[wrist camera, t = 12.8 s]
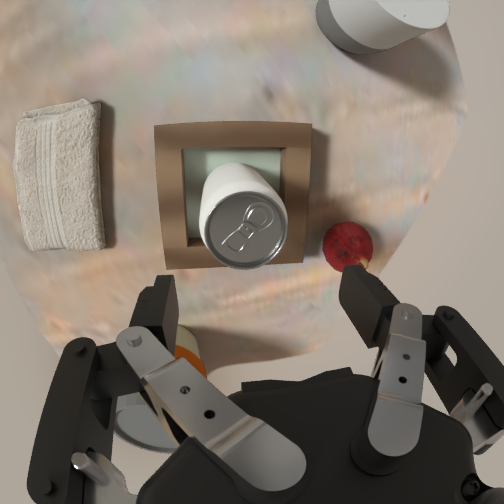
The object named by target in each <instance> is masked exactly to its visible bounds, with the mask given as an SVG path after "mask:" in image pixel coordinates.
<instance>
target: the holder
mask: <svg viewBox="0 0 504 504" xmlns="http://www.w3.org/2000/svg"><path fill="white" fill-rule="evenodd" d="M154 138H155V160H156V176H157V189H158V201H159V212H160V222H161V231H162V239H163V247H164V255H165V262H166V270H170V269H192V268H213V267H228V266H226V265H224V264H222V263H221V262H219V261H218V260H217V259H216V258H215V257H214V256H213V255H212V254H211V252H210V251H209V249H208V248H207V247H206V245H205V244H204V242H203V240H202V237H201V234H200V228H199V216H200V207H201V200H202V193H203V188H204V184H205V181H206V179H207V177H208V176H209V175H210V173H211V172H212V171H213V170H214V169H216V168H217V167H219V166H221V165H223V164H226V163H232V162H237V163H243V164H245V165H248V166H250V167H251V168H253V169H254V170H255V171H257V172H258V173H259V174H260V175H261V176H262V177H263V178H264V180H265V181H266V182H267V183H268V184H269V185H270V186H271V187H272V188H273V189H274V191H275V192H276V193H277V194H278V196H279V197H280V198H281V200H282V202H283V204H284V206H285V209H286V212H287V219H288V224H287V227H288V230H287V238H286V241H285V244H284V246H283V248H282V249H281V251H280V252H279V253H278V255H277V256H276V257H275V258H274V259H272V260H271V261H270V262H268V263H267V264H265V265H269V264H286V263H303V259H304V248H305V237H306V225H307V212H308V198H309V182H310V164H311V142H312V124H307V123H292V122H269V121H217V122H194V123H179V124H167V125H156V126H154Z"/></svg>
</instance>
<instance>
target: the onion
mask: <svg viewBox="0 0 504 504" xmlns="http://www.w3.org/2000/svg"><path fill="white" fill-rule="evenodd" d="M322 249H323V252H324V255H325V258H326V261H327V262H328V263H329V264H330V265H331V266H332V267H333V268H334V269H335V270H337V271H340V272H343V268H344V266H345V265H353V264H361V265H362V266H363V267H364V269H367V268H368V263H369V261H370V260H371V257H372V253H373V244H372V239H371V237H370V235H369V234H368V232H367V231H366V230H365V229H364V227H362V226H360V225H358V224H356V223H354V222H343V223H339V224H336V225H334V226H333V227H332V228H330V229H329V230H328V232H327V233H326V235H325V237H324V240H323V248H322Z"/></svg>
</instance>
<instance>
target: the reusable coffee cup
mask: <svg viewBox="0 0 504 504" xmlns="http://www.w3.org/2000/svg"><path fill="white" fill-rule="evenodd" d="M179 357H183V358H185V359H186V360H187V361H188V362H189V363H190V364H191V365H192V366H193V367H194V368H195V369H196V370H197V371H198V372H200V373H201V374H202V375H203V376H204V377H205V378H206V379H207V376H206V371H205V367H204V365H203V363H202V361H201V360H200V355H199V349H198V343H197V340H196V338H195V337H194V336H193V334H192V333H191V332H189V331H188V330H187V329H185V328H184V327H182V326H179V325H178V326H177V335H176V344H175V354H174V358H176V359H177V358H179ZM114 434H115V435H116V436H118V437H119V438H120V439H122V440H124V441H125V442H127V443H129V444H131V445H133V446H136V447H139V448H141V449H145V450H148V451H153V452H159V453H168V454H169V453H170V454H173V453H174V451H175V450H176V449H177V448H178V446H177V445H176V444H175V442H174V441H173V440H172V439H171V438H170V436H169V435H168V434H167V432H166V431H165V429H164V428H163V426H162V425H161V423H160V422H159V421H158V419H157V418H156V417H155V416H154V414H153V413H152V412H151V411H150V409H149V408H148V407H147V405H146V404H145V403H144V401H143V400H142V399H141V397H140V396H139V395H138V393H132V394H128V395H123V396H119V397H118V400H117V407H116V415H115V424H114Z"/></svg>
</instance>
